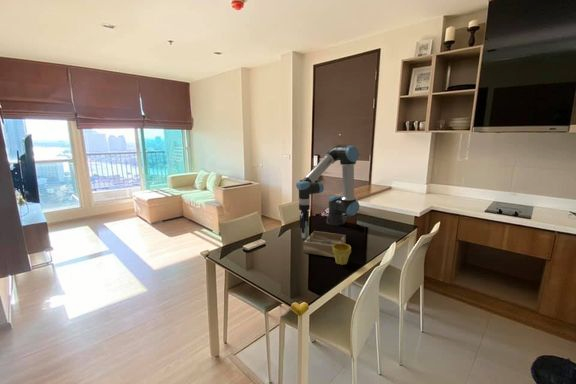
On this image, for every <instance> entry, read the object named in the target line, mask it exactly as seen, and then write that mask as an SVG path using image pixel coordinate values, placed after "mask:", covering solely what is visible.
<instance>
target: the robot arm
mask: <svg viewBox="0 0 576 384" xmlns="http://www.w3.org/2000/svg"><path fill="white" fill-rule="evenodd" d="M323 156H324V157H323V158H322V159H321V160H320V161H319V162H318V163H317V164H316V165H315V166H314V167H313V168H312V169H311V170H310V171H309V173H308V174H306V176H305V177H304V178H303V179H299V180H297V181H296V185H295V186H296V188H297V190H298V210H300V215H299V228H300V229H301V238H302V237H306V230H305V221H307V236H309V235H308V233H309V230H308V229H309V228H308V227H309V226H310V225H309V224H310V223H309V222H310V221H309V220H310V219H309V218H310V209H311V195H315V194H316V195H317V194H320V193H322V192H324V189H325V188H324V186H325V185H324V184H323V183H322V182H320V181H318V182H316V181H317V180H318V179H319V178H320V177H321V176H322V174H323V173H325V171H326V170H328V168H329V167H330V166H331V165H333V164H334V163H336V162H337V161H339V165H340V166H342V167H341V168H342V169H341V170H342V172H341V173H342V195H332V196H329V198H328V215H327V218H326V224H327V225H331V226H336V227H337V226H343V225H345V221H346V220H345V218H344V215H347V216H355V215H357V214H358V212H359V210H360V203H359V201H357V197H356V196H355V165H356V164H357V162H358V160H359V157H360V151H359V149H358V148H357V147H356V146H355V145H345V144H344V145H343V144H342V145H341V144H340V145H339V144H338V145H336V146H334V147H332V148H330V149H329V150H328V151H326V152H325V154H324V155H323Z"/></svg>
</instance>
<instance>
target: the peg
mask: <svg viewBox="0 0 576 384" xmlns="http://www.w3.org/2000/svg"><path fill="white" fill-rule="evenodd" d="M305 230H306V237H302V236H301V239H303V240H306V239H307V238H308V235H307V221H305Z"/></svg>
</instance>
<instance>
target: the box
mask: <svg viewBox="0 0 576 384" xmlns="http://www.w3.org/2000/svg"><path fill="white" fill-rule="evenodd" d="M346 236H347V235H346V234H342V233H341V234H340V233H332V232H327V231H319V230H318V231H317V230H314V231H313V232H311V234H310V235H308V236H307V239H304V241H303V253H306V254H311V255H317V256H324V257H330V258H335V256H334V253H333V245H334V244H338V243H343V244H346V241H347V240H346Z"/></svg>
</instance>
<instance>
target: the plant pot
mask: <svg viewBox="0 0 576 384" xmlns="http://www.w3.org/2000/svg"><path fill="white" fill-rule="evenodd" d="M333 253H334V256H335V257H334V259H335V261H334V262H335V264H337V265H339V264H340V266H342V265H344V266H345V265H347V264H348V262H349V257H350V255H351V253H352V247H351V245H350V244H347V243H345V244H343V243H338V244H334V245H333Z"/></svg>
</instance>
